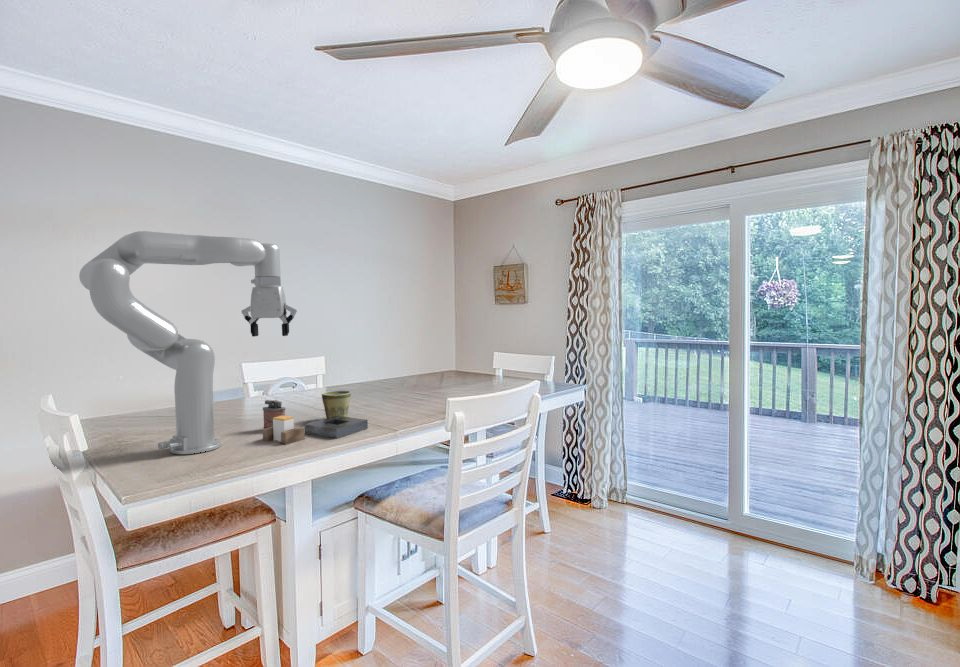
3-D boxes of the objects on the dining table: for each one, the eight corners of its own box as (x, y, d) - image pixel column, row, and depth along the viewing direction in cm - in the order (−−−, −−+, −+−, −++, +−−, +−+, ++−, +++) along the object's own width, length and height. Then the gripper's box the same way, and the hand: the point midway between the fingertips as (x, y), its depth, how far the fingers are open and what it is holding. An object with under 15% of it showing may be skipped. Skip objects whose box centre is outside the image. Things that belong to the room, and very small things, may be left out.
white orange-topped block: (284, 442, 145) (284, 419, 145) (273, 440, 147) (272, 417, 147) (294, 439, 148) (293, 416, 148) (283, 437, 150) (282, 415, 150)
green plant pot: (344, 423, 167) (343, 395, 167) (317, 423, 169) (316, 394, 169) (359, 415, 180) (358, 389, 180) (334, 415, 182) (333, 388, 181)
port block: (336, 438, 148) (336, 429, 148) (304, 433, 155) (304, 424, 155) (367, 428, 160) (367, 419, 160) (336, 424, 167) (336, 415, 167)
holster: (285, 444, 142) (285, 432, 142) (262, 440, 147) (262, 429, 147) (304, 438, 148) (304, 427, 148) (282, 435, 153) (281, 424, 153)
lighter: (288, 429, 161) (287, 399, 160) (281, 431, 157) (280, 401, 157) (268, 428, 163) (267, 398, 162) (261, 430, 160) (259, 400, 159)
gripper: (235, 282, 151) (237, 337, 152) (290, 281, 151) (292, 336, 152) (246, 283, 158) (248, 335, 159) (299, 283, 158) (301, 334, 159)
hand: (270, 336), depth 155 cm, fingers open, 9 cm apart
